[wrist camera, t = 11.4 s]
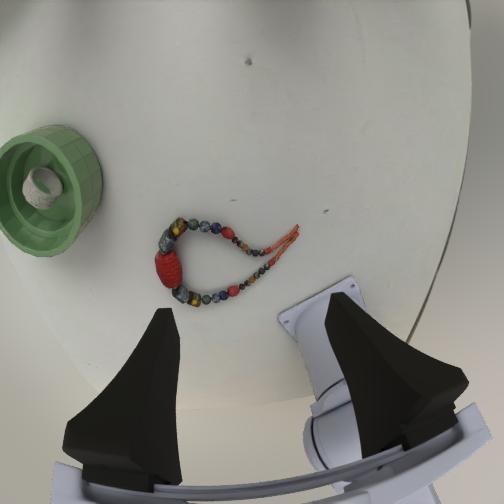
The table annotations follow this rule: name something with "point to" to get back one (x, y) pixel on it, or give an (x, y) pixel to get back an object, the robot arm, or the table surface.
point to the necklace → (171, 265)
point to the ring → (37, 195)
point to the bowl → (67, 205)
